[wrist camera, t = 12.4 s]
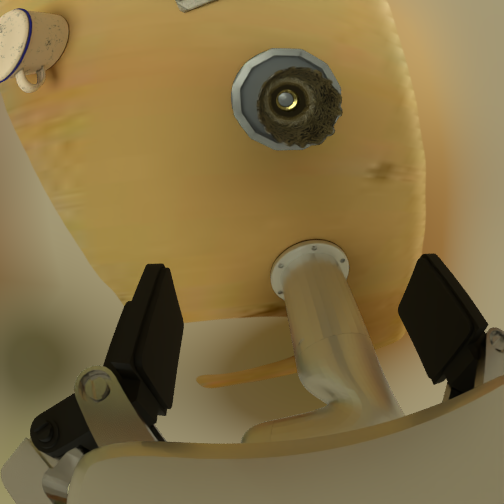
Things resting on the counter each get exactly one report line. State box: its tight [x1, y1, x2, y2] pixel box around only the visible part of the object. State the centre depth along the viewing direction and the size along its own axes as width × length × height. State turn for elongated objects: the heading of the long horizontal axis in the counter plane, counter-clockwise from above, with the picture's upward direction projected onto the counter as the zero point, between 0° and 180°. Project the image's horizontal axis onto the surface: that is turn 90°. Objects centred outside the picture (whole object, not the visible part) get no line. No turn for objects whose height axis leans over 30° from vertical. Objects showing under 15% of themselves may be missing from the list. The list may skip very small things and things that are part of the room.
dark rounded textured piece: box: [256, 66, 342, 148], centre depth 23 cm, size 8×7×8 cm
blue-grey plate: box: [231, 48, 341, 150], centre depth 26 cm, size 12×12×2 cm
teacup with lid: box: [0, 8, 69, 93], centre depth 14 cm, size 12×9×12 cm
